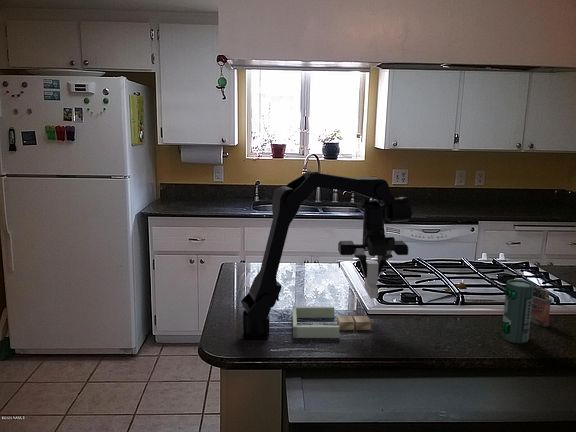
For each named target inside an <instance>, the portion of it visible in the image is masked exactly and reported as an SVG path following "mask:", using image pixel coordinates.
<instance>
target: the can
mask: <svg viewBox="0 0 576 432" xmlns="http://www.w3.org/2000/svg"><path fill="white" fill-rule="evenodd" d="M534 286H535V284H534V283H533V282H530V281H528V280H524V279H523V280H522V279H512V278H511V279H508V280H507V281H506V283H505V292H504V293H505V294H504V305H503V313H502V327H501V338H503V339H504V340H506V341H507V342H510V343H514V344H516V343H517V344H524V343H527V342H528V341H529V337H530V330H531V329H530V328H531V322H530V320H531V311H532V302H533V292H534Z"/></svg>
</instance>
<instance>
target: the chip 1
mask: <svg viewBox="0 0 576 432" xmlns="http://www.w3.org/2000/svg"><path fill="white" fill-rule="evenodd" d="M336 326H339V331H348V330H349V331H350V330H351V331H354V330H355V327H354V320H353V316H352V315H337V316H336Z"/></svg>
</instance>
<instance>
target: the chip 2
mask: <svg viewBox="0 0 576 432" xmlns="http://www.w3.org/2000/svg"><path fill="white" fill-rule="evenodd" d="M352 318H353V320H354V330H355V331H365V330H368V331H370V330H371V328H372V327H371V325H372V324H371V323H372V321H371V320H370V318H369V316H368V315H354V316H352Z"/></svg>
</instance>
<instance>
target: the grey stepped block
mask: <svg viewBox="0 0 576 432" xmlns="http://www.w3.org/2000/svg"><path fill="white" fill-rule="evenodd" d="M366 266H367V278H365V277H364V285H363V287H364V290H365V291H366V293H367V295H368V297H369V299H378V298H379V287H378V286H377V285H378V284H379V283H378V282H379V278H378V262H377V260H366Z"/></svg>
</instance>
